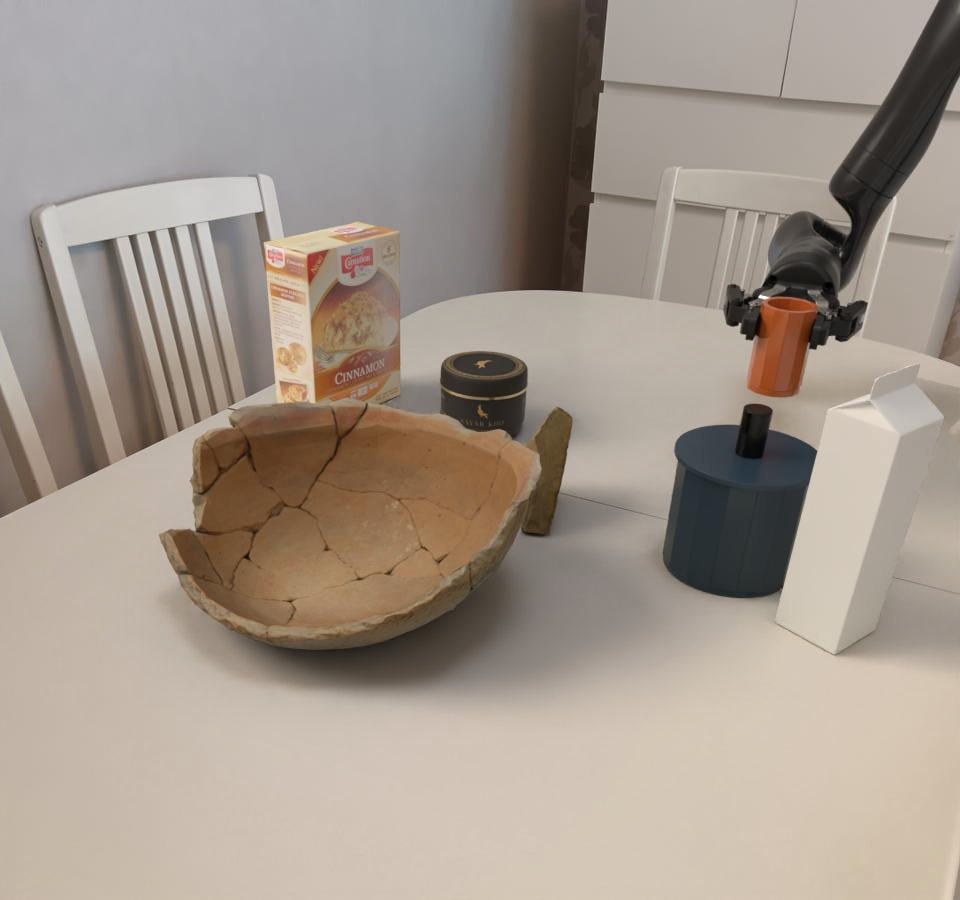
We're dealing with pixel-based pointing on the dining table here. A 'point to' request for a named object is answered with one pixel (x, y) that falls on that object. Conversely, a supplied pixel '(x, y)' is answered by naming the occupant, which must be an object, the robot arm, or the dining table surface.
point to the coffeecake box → (335, 314)
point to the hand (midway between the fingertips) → (783, 334)
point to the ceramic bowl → (346, 520)
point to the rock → (548, 470)
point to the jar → (484, 390)
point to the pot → (730, 536)
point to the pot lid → (747, 454)
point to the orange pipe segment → (781, 346)
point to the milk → (858, 511)
